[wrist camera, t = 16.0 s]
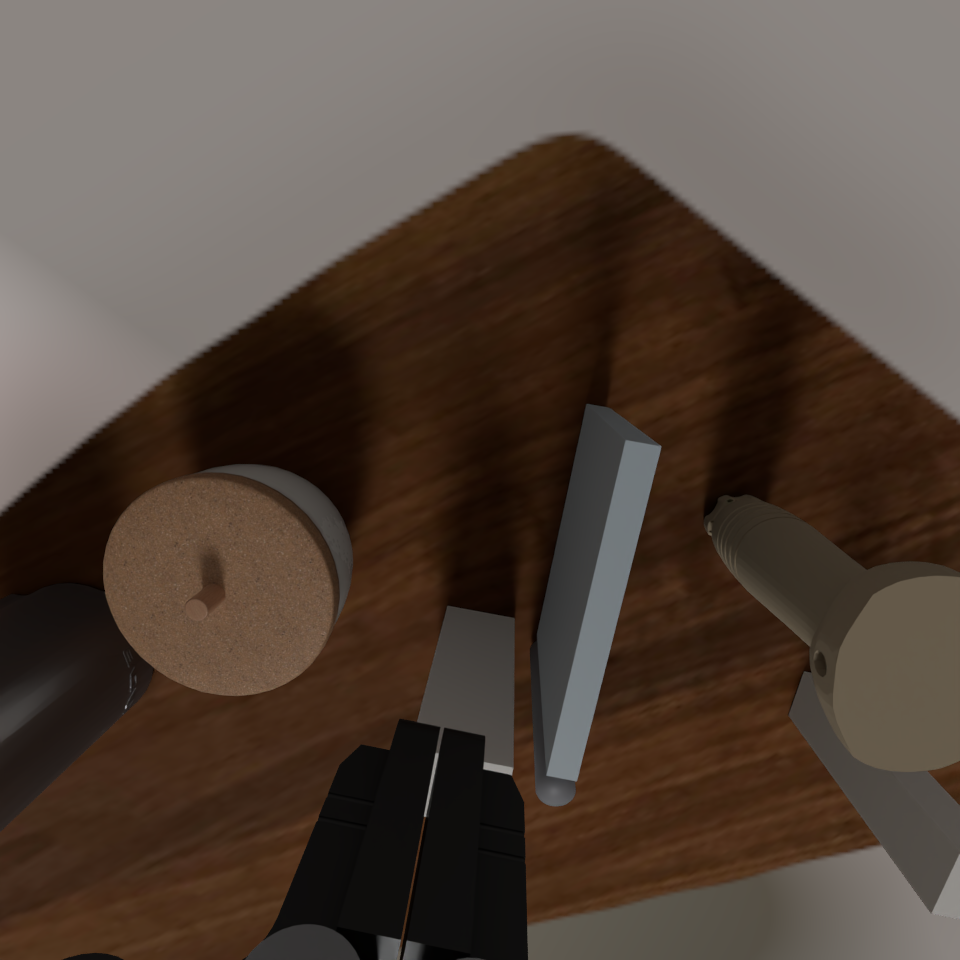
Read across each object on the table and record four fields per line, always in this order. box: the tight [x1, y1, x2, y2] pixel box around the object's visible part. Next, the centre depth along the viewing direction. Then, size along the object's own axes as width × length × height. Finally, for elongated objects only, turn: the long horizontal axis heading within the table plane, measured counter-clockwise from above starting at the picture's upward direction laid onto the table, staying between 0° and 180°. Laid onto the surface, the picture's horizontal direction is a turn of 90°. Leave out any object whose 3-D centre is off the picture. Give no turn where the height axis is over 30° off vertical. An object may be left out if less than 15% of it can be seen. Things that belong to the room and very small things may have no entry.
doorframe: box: [417, 606, 960, 919], centre depth 28 cm, size 23×3×12 cm, turn 81°
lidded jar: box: [103, 464, 353, 696], centre depth 28 cm, size 11×11×9 cm
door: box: [530, 404, 661, 806], centre depth 26 cm, size 15×2×11 cm, turn 171°
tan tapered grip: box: [704, 494, 960, 772], centre depth 24 cm, size 5×6×15 cm
